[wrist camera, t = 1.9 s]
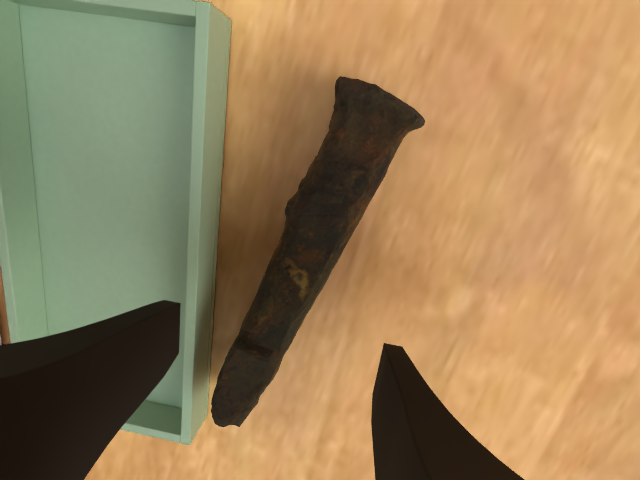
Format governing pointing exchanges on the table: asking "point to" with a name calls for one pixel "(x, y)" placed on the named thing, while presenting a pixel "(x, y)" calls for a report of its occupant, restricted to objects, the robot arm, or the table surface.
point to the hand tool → (313, 237)
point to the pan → (115, 176)
